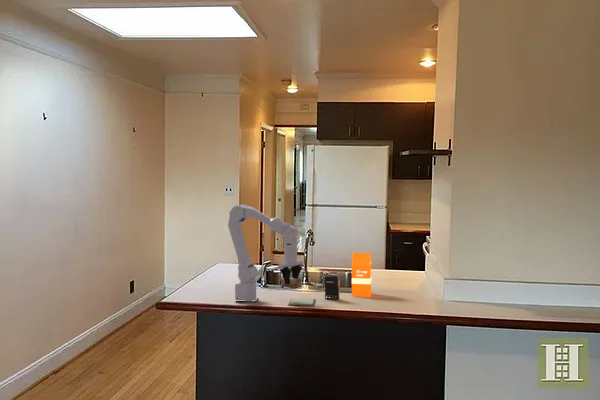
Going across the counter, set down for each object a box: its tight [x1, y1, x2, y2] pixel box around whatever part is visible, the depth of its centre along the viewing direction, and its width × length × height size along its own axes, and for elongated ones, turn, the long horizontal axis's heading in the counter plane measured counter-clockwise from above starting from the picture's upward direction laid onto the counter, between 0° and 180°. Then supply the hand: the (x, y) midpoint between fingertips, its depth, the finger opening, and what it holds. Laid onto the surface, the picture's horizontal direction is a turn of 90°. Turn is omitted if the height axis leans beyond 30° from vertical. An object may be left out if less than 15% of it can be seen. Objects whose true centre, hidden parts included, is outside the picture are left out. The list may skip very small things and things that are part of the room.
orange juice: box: [351, 252, 372, 298], centre depth 249 cm, size 8×9×20 cm
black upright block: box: [323, 273, 341, 301], centre depth 240 cm, size 7×4×11 cm, turn 64°
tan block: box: [280, 277, 302, 290], centre depth 234 cm, size 4×8×4 cm, turn 47°
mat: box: [288, 298, 316, 307], centre depth 234 cm, size 11×11×1 cm
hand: (291, 283), depth 234 cm, fingers closed on tan block, 4 cm apart
